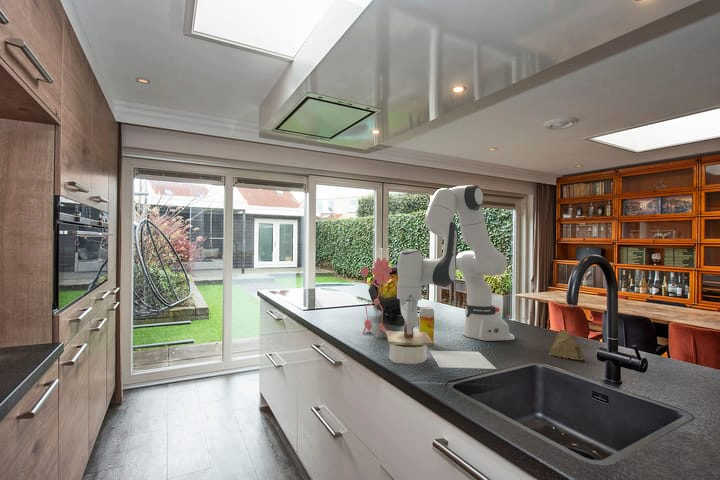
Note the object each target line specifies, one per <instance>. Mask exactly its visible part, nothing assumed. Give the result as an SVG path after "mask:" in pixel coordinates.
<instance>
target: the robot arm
mask: <svg viewBox="0 0 720 480" xmlns="http://www.w3.org/2000/svg"><path fill="white" fill-rule="evenodd" d="M483 202H484V192H483V190H482V188H481V187H479V185H477V184H468V185H458V186H457V185H456V186H454V187H450V188H448V187H447V188H445V187H442V188H439V189H437V190H436V191H434V194H433V195H432V197H431V199H430V201H429V203H428V206H427V208H426V211H425V214H424V224H425V226H426V228H427V229H428V231H430V232H431V233H432V234H434V235H435V236H439V237H441V238H443V241H444V242H443V250H442V256H441V257H439V258H430V257H429V258H427V257H425V256H424V255H422V252H421V250H420V249H417V248H407V249H406V248H405V249H402V250H401V251H400V252H399V255H398V260H397V265H398V270H397V274H398V283H397V299H400V308H401V314H402V315H401V316H402V318H403V319H404V320H403V321H404V325H407V334H412V328H413V329H414V326H417V325H418V324H419V315H418V312H419V311H418V309H419V308H418V307H419V306H418V304H419V301H421V300H422V294H423V293H422V292H423V290H422V288H423V286H422V285H423V284H424V285H425V284H426V285H433V286H439V287H443V288H447V287H449V286H450V285H451V284H453V282H455V280H456V278H457V270H458V271H459V272H460V274H461V275H462V278H463V280H464V282H465V286H466V303H465V310H464V311H465V312H464V313H465V320H464V327H463V330H462V333H461V334H462V335H463V336H465V337H468V338H471V339H475V340H476V339H477V340H480V341H485V342H486V341H487V342H489V341H491V342H492V341H515V340H516V339H515V337H516V336H515V334H513V333H511V332H510V329H509V323H507V322H506V321H505V320H503V319H502V318H501V317H500V316H499V315H498V314H497V313H499V312H500V308H499V307H498V306H494V305H493V289H492V287H491V285H489V284H488V283H487V282H486V280H485V278H484V276H489V277H490V276H491V277H493V276H500V275H503V274H504V273H506V271H507V267H508V260H507V258H506V256H505V255H504V254H503V253H502V252H500V251H499V250H498V249H497V248H496V246H494V244H493V242H492V240H491V239H490V236H489V233H488V229H487V224H486V219H485V215H484V211H483V208H482V205H483V204H484V203H483ZM455 214H458V215H457V216H458V222H459V226H460V227H459V228H460V232H461V233H460V234H461V236H462V241H463V242H464V244H465V245H467V246H469V247H470V249H471V250H465V251H460V252H459V253H458V252H457V251H458V242H459V231H458V229H459V228H458V225H457V224H456V222H454V216H455Z"/></svg>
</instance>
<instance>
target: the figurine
mask: <svg viewBox="0 0 720 480" xmlns="http://www.w3.org/2000/svg"><path fill="white" fill-rule="evenodd" d="M391 267H392V266H390V261H389V260H387V258H386V257H384V258H382V259H381V258H380V257H379V256H378V257H377V258H376V262H374V267H373V268H371V273H372V274H373V277H374V280H373V281H372V280H371V281H366V277H367V276H368V275H369V269H368V268H367V266H363V267H362V268H361V269H360V273H361V276H362V277H363V283H364V284H371V283H372V284H374V285H375V286H377V287H378V288H380V286H381V285H382V283H384V284H386V283H387V279H390V278H391V280H392V281H393V282H394V283H395V284H396V285H397V283H396V282H395V281H394V280H393V279H392V277H391V276H390V274H389V273H391V272H392V269H391ZM375 280H377V284H380V283H381V282H382V283H381V284H380V286H378V285H376V284H375V283H374V281H375ZM380 290H381V289H379V293H380ZM379 293H378V297H379ZM378 297H377V299H375V300H374V303H373V302H372V303H370V304H368V305H365V312H366V320H365V321H364V329H363V331H362V334H365V331H366V330H367V331H371V330H373V329H374V330H375V329H376V328H375V327H373V323H372V322H371V321H370V320H369V317H368V310H367V309H368V308H367V307H369V306H371V305H373V304H374V305H375V306H376V305H378V304H379V305H380V301H379V300H378ZM380 307H381V305H380ZM381 309H382V307H381ZM381 318H384V317H383V309H382V311H381ZM378 326H379V328H378V329H377V330H378V331H377V334H376V336H375V338H376V339H377V338H378V335H379V334H380V331H382V332H383V333H384V334H385V335H386V331H392V330H390V329H389V330H388V329H387V328H386V327H385V326H384V324H383V319H381V322H379V324H378Z"/></svg>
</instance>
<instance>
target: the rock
mask: <svg viewBox="0 0 720 480" xmlns="http://www.w3.org/2000/svg"><path fill="white" fill-rule="evenodd" d="M548 356H553V357H556V356H557V357H556V358H561V357H563V358H562V359H568V358H570V360H577V361H584V360H585V357H584V353H583V351H582V349H581V347H580V345H579V344H578V343H577V342H576V340H575V339H574V338H573V337H572V335H570V333H568V331H567V330H564V329H562V328H561V329H560V331H559V332H558V333H557V334H556V336H555V338H554V341H553V343H552V344H551V347H550V350H549V353H548Z"/></svg>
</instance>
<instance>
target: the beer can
mask: <svg viewBox="0 0 720 480" xmlns="http://www.w3.org/2000/svg"><path fill="white" fill-rule="evenodd" d="M418 312H419V315H418V332H426V334H427V335H428V336H429V338H430V339H431V341H432V342H433V344H434V343H435V342H434V340H435V339H434V337H435V335H434V333H435V310H434V308H433V307H430V306H422V307H420V308H419V311H418Z"/></svg>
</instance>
